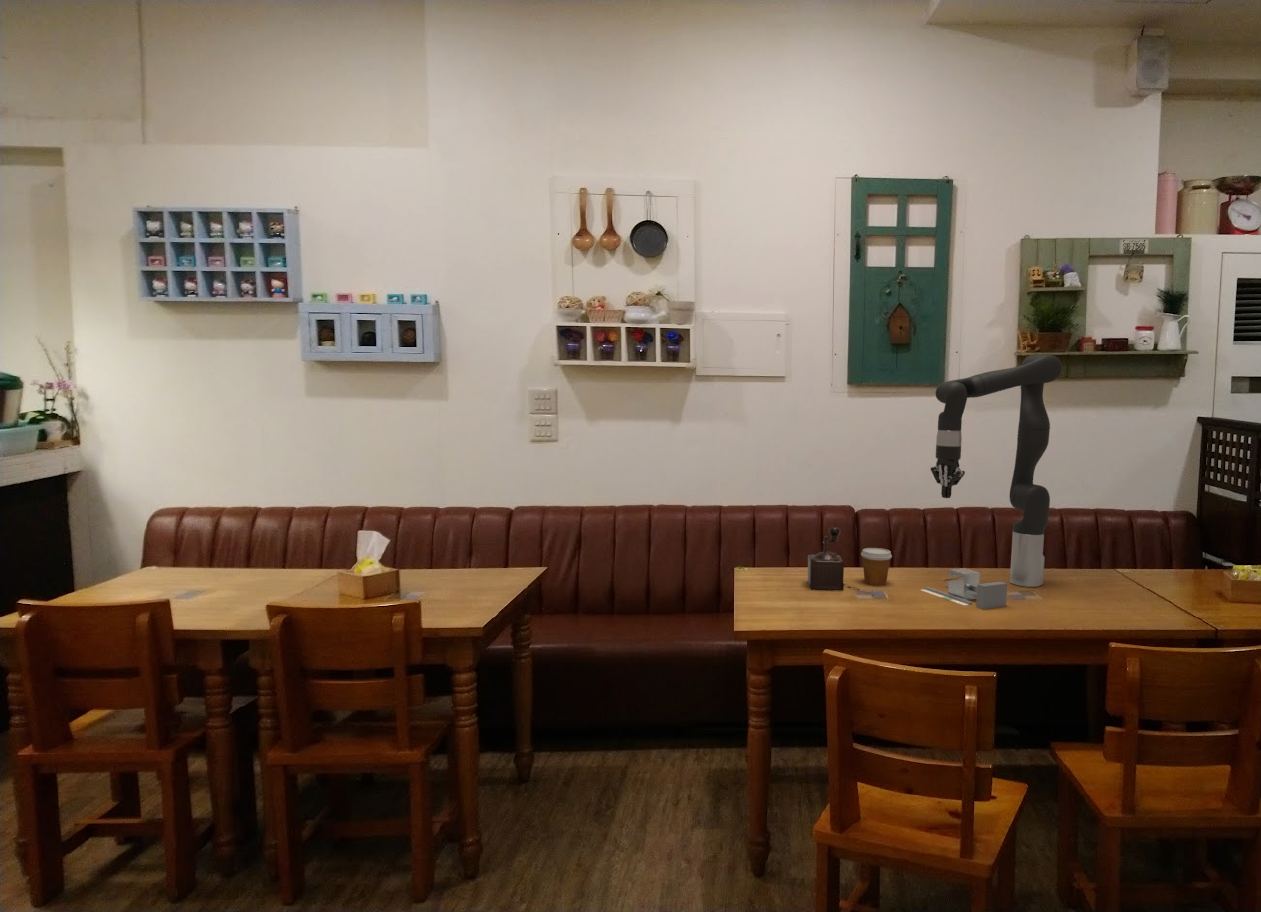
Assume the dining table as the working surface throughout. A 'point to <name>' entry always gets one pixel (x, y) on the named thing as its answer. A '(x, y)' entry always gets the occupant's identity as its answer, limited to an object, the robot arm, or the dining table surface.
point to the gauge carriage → (963, 583)
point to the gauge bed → (979, 595)
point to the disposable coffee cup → (876, 565)
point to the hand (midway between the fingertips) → (946, 497)
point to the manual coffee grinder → (826, 567)
